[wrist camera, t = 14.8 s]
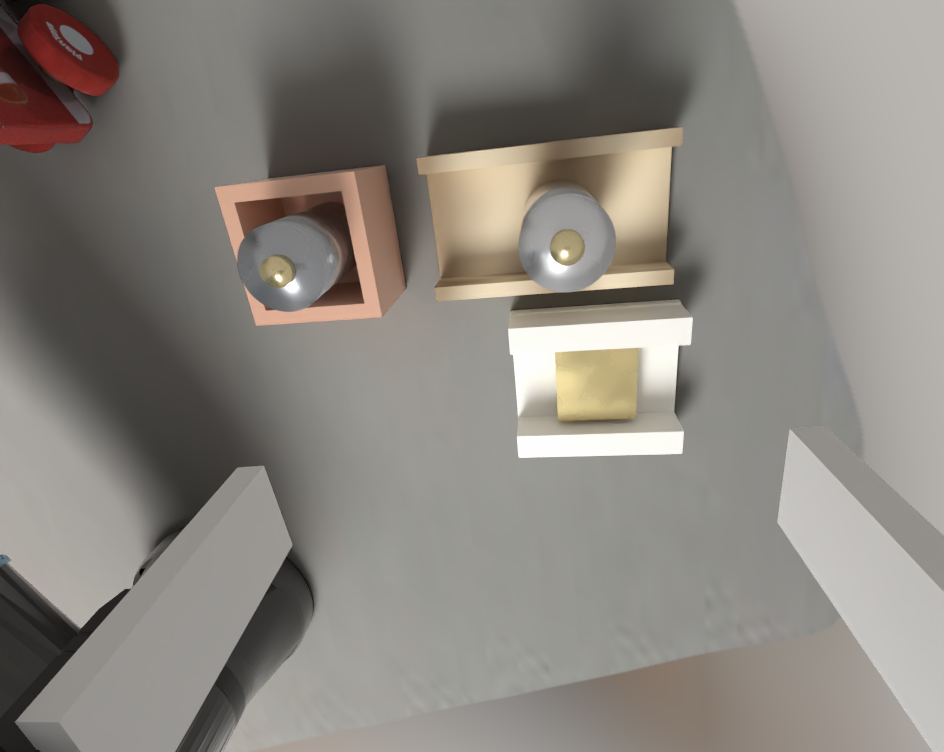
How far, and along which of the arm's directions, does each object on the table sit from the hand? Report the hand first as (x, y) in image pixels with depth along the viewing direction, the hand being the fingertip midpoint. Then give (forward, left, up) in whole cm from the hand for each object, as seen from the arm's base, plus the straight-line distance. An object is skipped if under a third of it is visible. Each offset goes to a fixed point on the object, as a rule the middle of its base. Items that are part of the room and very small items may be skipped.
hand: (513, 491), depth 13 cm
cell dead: (-11, +4, -19) cm, 22 cm away
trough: (+1, +4, -20) cm, 20 cm away
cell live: (+2, +4, -19) cm, 20 cm away
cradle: (+4, -6, -20) cm, 21 cm away
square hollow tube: (-11, +4, -20) cm, 23 cm away
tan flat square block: (+4, -6, -19) cm, 20 cm away
